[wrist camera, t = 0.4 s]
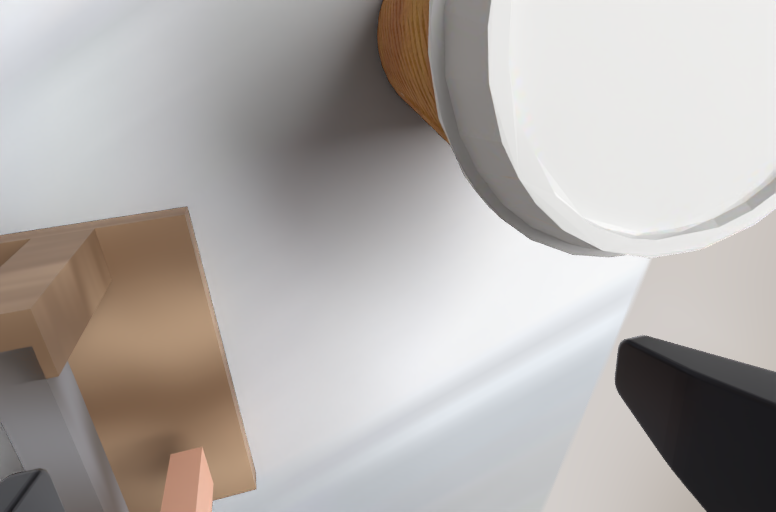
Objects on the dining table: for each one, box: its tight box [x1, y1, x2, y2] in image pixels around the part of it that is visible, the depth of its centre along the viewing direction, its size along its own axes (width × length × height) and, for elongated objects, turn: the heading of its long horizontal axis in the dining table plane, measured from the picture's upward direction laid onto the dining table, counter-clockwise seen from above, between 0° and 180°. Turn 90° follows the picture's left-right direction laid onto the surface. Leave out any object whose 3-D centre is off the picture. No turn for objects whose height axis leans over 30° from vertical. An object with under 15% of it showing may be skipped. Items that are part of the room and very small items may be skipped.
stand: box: [0, 207, 256, 512], centre depth 18 cm, size 14×8×7 cm, turn 5°
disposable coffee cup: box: [377, 0, 776, 258], centre depth 14 cm, size 10×10×12 cm
